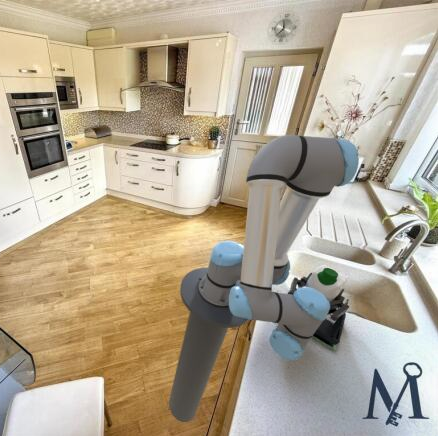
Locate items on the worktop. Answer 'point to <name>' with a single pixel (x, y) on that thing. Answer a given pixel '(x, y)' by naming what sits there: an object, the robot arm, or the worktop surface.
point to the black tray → (330, 331)
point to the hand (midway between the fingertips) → (325, 283)
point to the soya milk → (327, 282)
